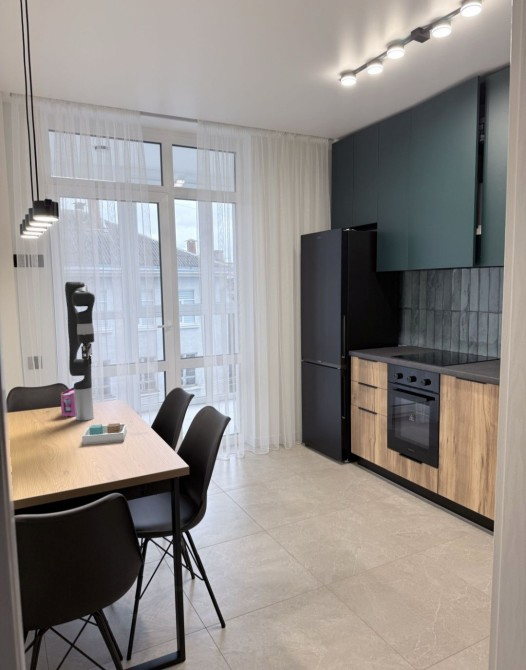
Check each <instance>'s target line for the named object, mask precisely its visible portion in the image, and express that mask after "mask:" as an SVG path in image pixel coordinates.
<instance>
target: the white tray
mask: <svg viewBox="0 0 526 670" xmlns="http://www.w3.org/2000/svg"><path fill="white" fill-rule="evenodd" d="M108 425H109V424H108ZM108 425H107V424H106V425H103V424H102V428H103V434H98V435H90V427H91V426H87V428H86V429H85V430H84V433H83V434H82V436H81V439H82V440H81V441H82V445H83V446H87V445H88V446H89V445H97V444H98V445H99V444H108V443H118V442H124V441H125V439H126V435H127V432H128V430H127V428H128V427H127V423H120V433H110V434H108V431H107V426H108Z"/></svg>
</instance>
